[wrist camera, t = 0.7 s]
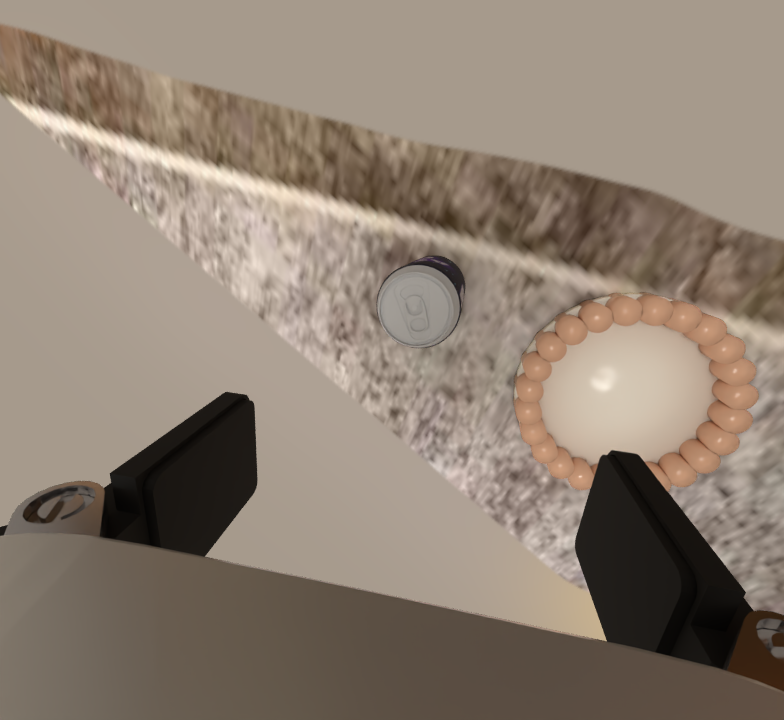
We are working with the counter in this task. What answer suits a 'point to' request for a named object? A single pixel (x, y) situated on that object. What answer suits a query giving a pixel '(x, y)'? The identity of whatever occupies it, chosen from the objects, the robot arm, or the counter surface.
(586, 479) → the round dish
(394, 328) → the beverage can
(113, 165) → the counter surface
